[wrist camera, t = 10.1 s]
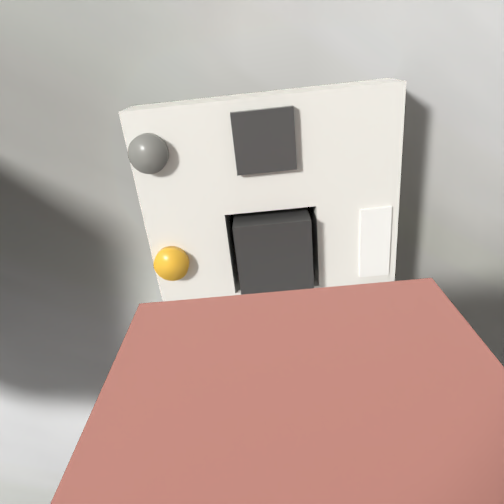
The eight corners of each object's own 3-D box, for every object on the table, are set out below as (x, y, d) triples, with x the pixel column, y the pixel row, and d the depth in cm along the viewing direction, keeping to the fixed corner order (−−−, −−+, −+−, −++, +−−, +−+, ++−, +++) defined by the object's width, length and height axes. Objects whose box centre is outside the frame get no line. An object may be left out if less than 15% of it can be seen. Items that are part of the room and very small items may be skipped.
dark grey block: (306, 261, 19) (314, 288, 17) (242, 267, 19) (241, 294, 17) (303, 199, 18) (311, 220, 15) (234, 206, 18) (232, 228, 16)
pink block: (411, 473, 11) (524, 770, 6) (187, 489, 11) (145, 786, 7) (431, 278, 8) (649, 546, 4) (139, 303, 8) (13, 584, 4)
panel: (378, 330, 21) (393, 362, 19) (185, 346, 21) (177, 380, 19) (388, 78, 16) (410, 81, 14) (133, 105, 16) (114, 113, 14)
